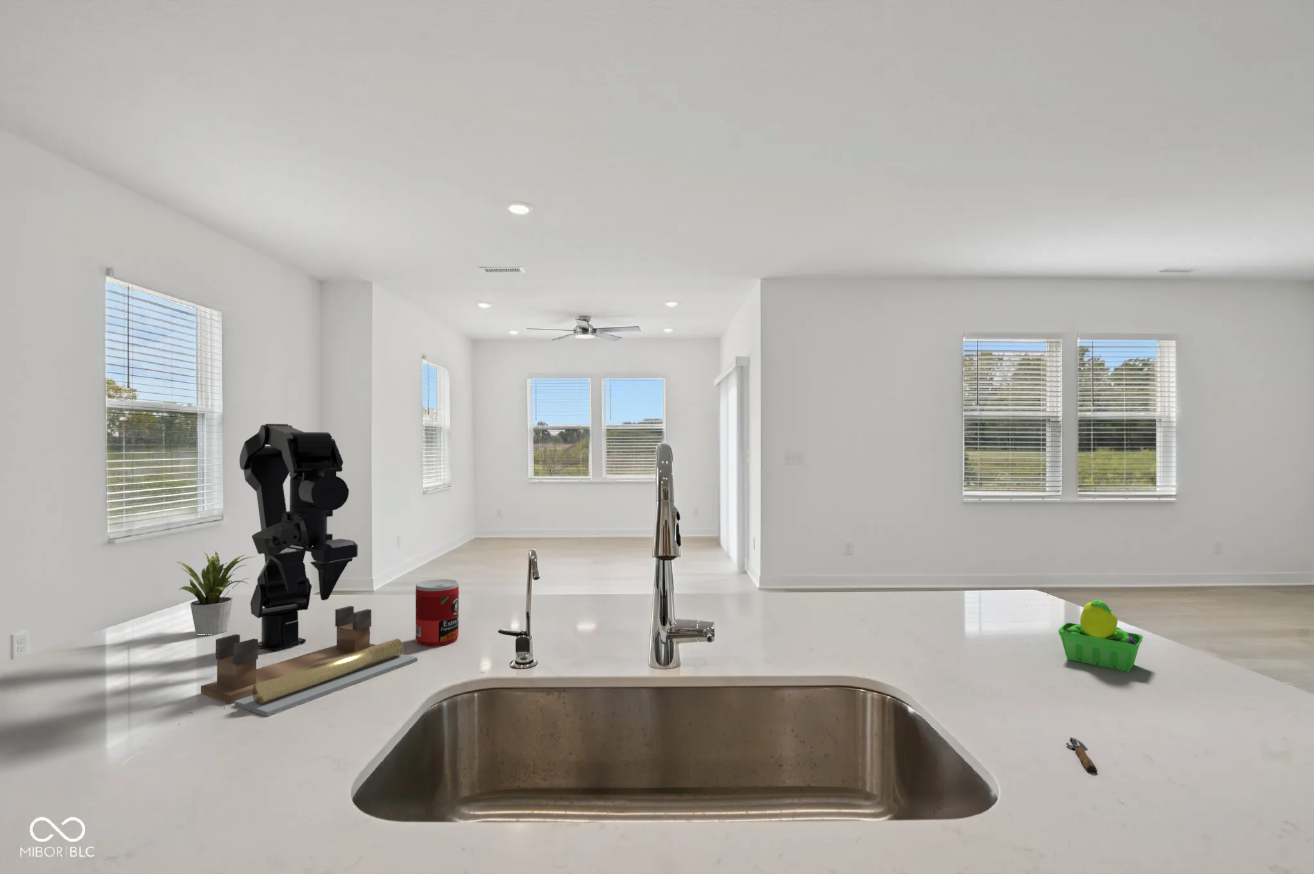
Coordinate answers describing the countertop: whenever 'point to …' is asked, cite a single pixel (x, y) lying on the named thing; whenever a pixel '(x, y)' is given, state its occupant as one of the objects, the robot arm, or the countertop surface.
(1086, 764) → the can opener
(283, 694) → the rail
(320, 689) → the mat
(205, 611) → the house plant
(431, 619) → the canned food
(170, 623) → the countertop surface
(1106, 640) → the fruit basket
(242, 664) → the stand
